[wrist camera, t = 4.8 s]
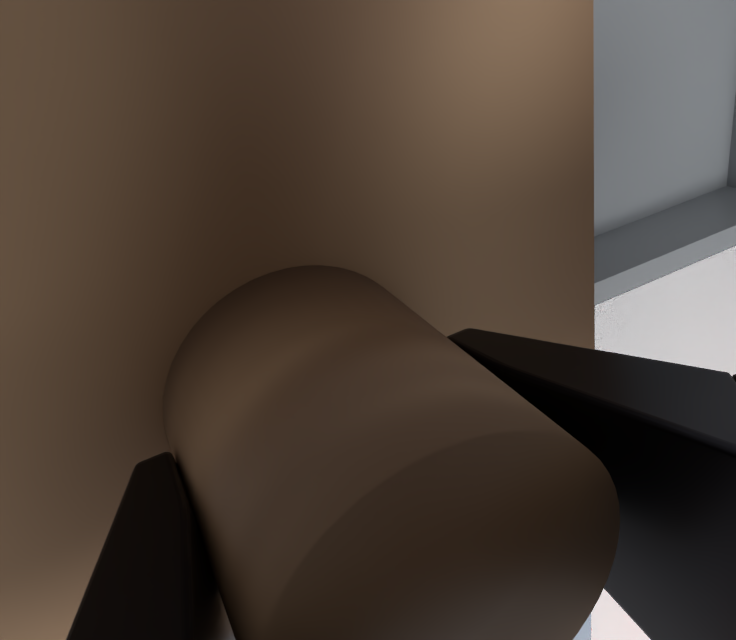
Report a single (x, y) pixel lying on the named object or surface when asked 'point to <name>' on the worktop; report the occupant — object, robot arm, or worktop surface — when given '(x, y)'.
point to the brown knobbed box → (300, 306)
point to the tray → (662, 138)
